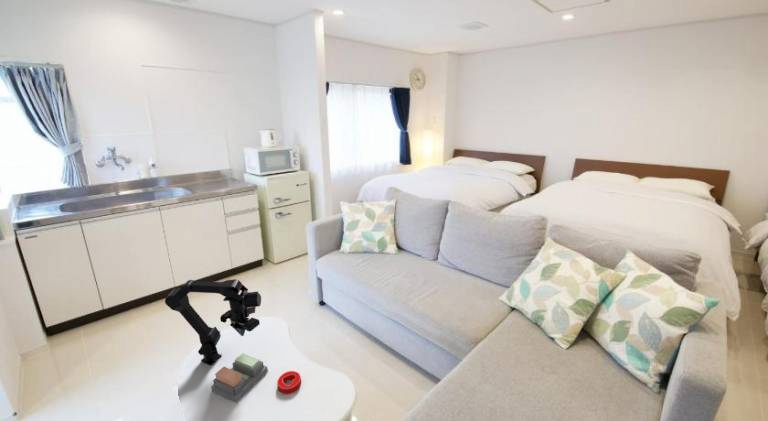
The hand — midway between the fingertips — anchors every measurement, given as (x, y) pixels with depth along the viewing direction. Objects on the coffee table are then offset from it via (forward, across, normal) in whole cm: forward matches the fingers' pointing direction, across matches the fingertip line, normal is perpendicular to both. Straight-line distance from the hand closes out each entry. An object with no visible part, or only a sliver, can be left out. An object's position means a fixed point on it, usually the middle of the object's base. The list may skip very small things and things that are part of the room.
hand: (242, 335), depth 156 cm
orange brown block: (+8, -9, +17) cm, 21 cm away
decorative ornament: (+12, -30, +5) cm, 33 cm away
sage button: (+9, -9, +7) cm, 14 cm away
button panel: (+12, -9, +12) cm, 19 cm away
